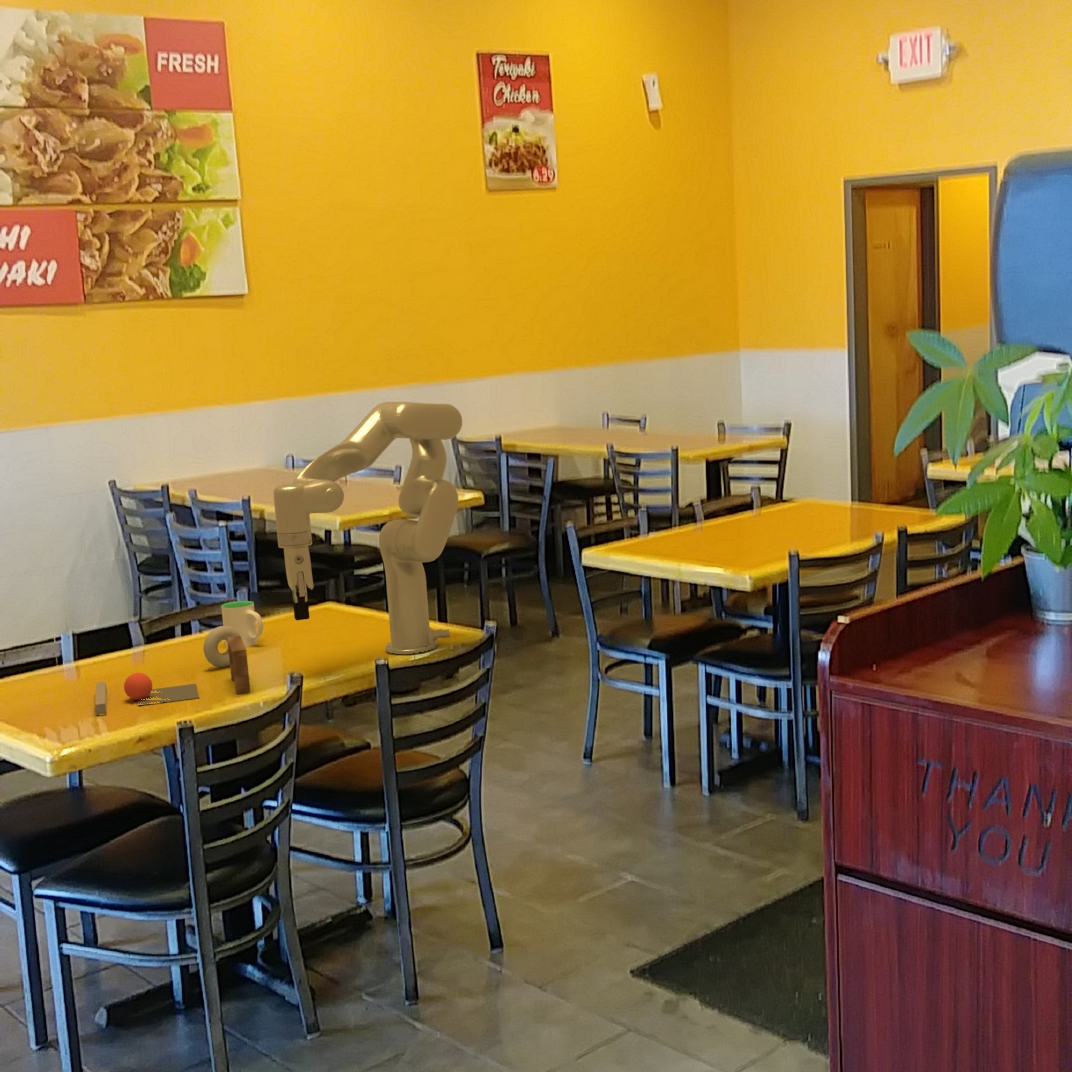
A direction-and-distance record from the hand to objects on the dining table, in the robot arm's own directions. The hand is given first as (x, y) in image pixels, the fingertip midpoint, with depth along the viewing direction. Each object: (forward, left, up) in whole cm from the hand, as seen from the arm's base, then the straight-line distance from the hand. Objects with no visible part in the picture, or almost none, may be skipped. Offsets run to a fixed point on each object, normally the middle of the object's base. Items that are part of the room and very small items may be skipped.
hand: (302, 618), depth 319 cm
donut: (+17, -20, -14) cm, 30 cm away
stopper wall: (+45, 0, -13) cm, 47 cm away
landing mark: (+31, 0, -13) cm, 34 cm away
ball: (+37, +1, -10) cm, 38 cm away
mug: (+10, -41, -14) cm, 44 cm away
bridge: (+15, 0, -13) cm, 20 cm away
